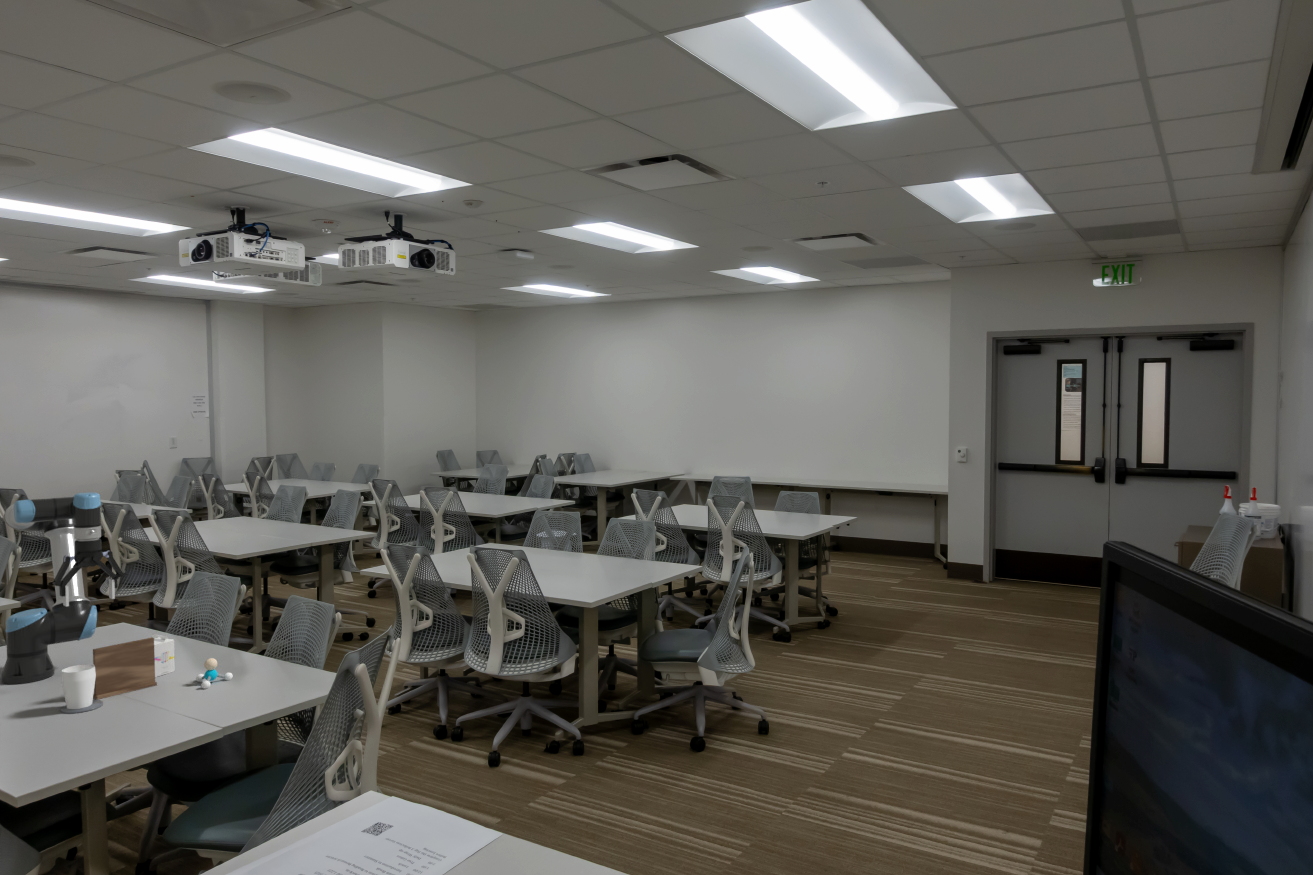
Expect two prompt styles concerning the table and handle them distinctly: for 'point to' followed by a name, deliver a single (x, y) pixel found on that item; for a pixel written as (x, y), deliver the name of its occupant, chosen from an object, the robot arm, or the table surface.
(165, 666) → the ink box
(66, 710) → the grey smooth rounded part
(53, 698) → the table surface
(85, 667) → the cup
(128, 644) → the brown wooden slab
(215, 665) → the molecule model
